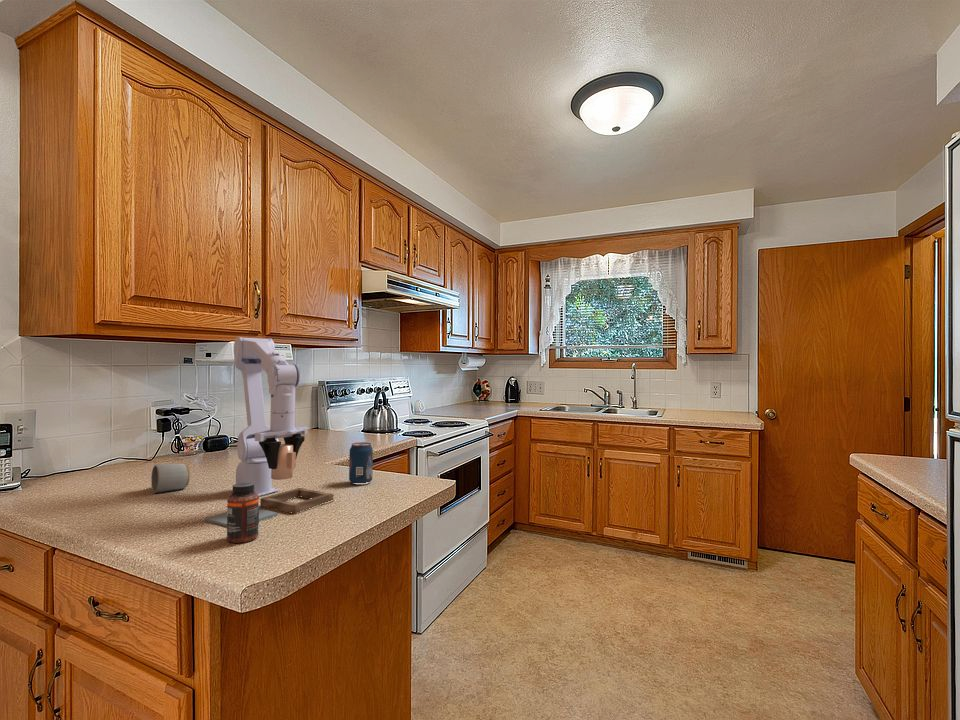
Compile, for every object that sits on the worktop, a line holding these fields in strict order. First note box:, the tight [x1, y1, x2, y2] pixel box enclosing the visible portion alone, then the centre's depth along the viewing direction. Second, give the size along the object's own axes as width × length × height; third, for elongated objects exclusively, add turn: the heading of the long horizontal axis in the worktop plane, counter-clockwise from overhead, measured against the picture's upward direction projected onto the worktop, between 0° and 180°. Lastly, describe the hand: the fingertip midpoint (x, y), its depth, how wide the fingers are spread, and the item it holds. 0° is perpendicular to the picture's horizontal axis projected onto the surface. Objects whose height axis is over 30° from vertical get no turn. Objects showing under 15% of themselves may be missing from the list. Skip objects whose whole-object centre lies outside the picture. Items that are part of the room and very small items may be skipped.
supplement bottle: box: [226, 482, 260, 544], centre depth 99 cm, size 6×6×11 cm
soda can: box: [348, 441, 374, 483], centre depth 147 cm, size 7×7×12 cm
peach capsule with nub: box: [271, 443, 297, 481], centre depth 120 cm, size 6×5×8 cm
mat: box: [204, 508, 279, 528], centre depth 113 cm, size 11×11×1 cm
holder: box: [259, 487, 334, 514], centre depth 124 cm, size 12×12×2 cm
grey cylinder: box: [150, 463, 191, 494], centre depth 137 cm, size 11×8×8 cm
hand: (281, 466), depth 121 cm, fingers closed on peach capsule with nub, 5 cm apart
